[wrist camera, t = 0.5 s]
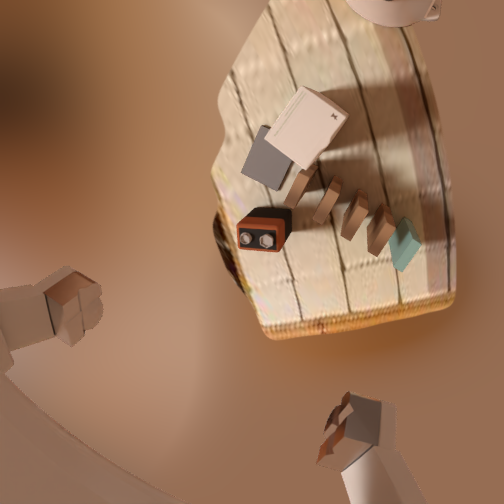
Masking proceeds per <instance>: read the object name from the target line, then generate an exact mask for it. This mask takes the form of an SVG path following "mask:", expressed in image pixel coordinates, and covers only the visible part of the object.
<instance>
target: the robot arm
mask: <svg viewBox="0 0 504 504" xmlns="http://www.w3.org/2000/svg"><path fill="white" fill-rule="evenodd" d="M346 1H347V3H348V4H349V6H350V7H351V8H352V9H353V10H354V11H355V12H356V13H358V14H359V15H360V16H362V17H363V18H365V19H367V20H369V21H371V22H373V23H376V24H379V25H383V26H388V27H403V26H408V25H411V24H414V23H416V22H419V21H436V20H438V19H439V16H440V11H441V3H442V0H346ZM432 7H434V8H435V10H433V9H432ZM101 294H102V291H101V285H99V284H98V283H96V282H95V281H93V280H91V279H90V278H88V277H86V276H85V275H83V274H81V273H80V272H78V271H76V270H75V269H73V268H71V267H70V266H63V267H62V268H60V269H59V270H57V271H56V272H54V273H52V274H51V275H49V276H48V277H46V278H45V279H43V280H42V281H40V282H39V283H37V284H36V285H34V286H32V285H24V286H18V287H11V288H4V289H0V504H190V503H188V502H186V501H184V500H181V499H179V498H177V497H175V496H173V495H171V494H169V493H167V492H165V491H163V490H161V489H159V488H157V487H155V486H153V485H151V484H150V483H148V482H146V481H144V480H142V479H140V478H139V477H137V476H135V475H133V474H131V473H130V472H128V471H126V470H125V469H123V468H122V467H120V466H118V465H117V464H115V463H114V462H112V461H110V460H109V459H107V458H106V457H104V456H103V455H101V454H100V453H98V452H97V451H95V450H94V449H92V448H91V447H89V446H88V445H87V444H85V443H84V442H83V441H81V440H80V439H78V438H77V437H76V436H74V435H73V434H72V433H71V432H69V431H68V430H66V429H65V428H64V427H63V426H62V425H60V424H59V423H58V422H57V421H55V420H54V419H53V418H52V417H50V416H49V415H48V414H47V413H45V411H43V410H42V409H41V408H40V407H39V406H38V405H37V404H35V403H34V402H33V401H32V400H31V399H30V398H29V397H28V396H27V395H25V393H23V392H22V391H21V390H20V389H19V388H18V387H17V386H16V385H15V384H14V383H13V382H12V381H11V380H10V379H9V378H8V377H7V376H6V375H5V373H6V372H7V371H8V370H9V369H10V368H11V367H12V366H13V365H14V360H13V358H12V356H11V354H10V351H13V350H16V349H20V348H22V347H26V346H29V345H32V344H35V343H38V342H41V341H44V340H47V339H50V338H53V337H55V336H56V337H57V338H59V339H60V340H62V341H63V342H64V343H66V344H68V345H69V346H70V347H73V346H74V345H75V344H76V343H77V342H78V341H80V340H81V339H82V338H83V337H84V334H85V330H89V329H93V328H94V327H95V326H96V325H97V324H98V323H99V321H100V319H101V317H102V314H103V304H102V302H101V300H100V298H99V297H100V296H101ZM323 434H324V436H325V438H326V440H325V442H324V443H323V444H322V445H321V446H320V450H319V454H318V458H317V462H316V464H317V465H320V466H323V467H327V468H330V469H333V470H337V471H341V472H342V473H341V474H342V477H343V480H344V483H345V486H346V489H347V492H348V496H349V499H350V502H351V504H428V503H427V501H426V499H425V497H424V496H423V494H422V492H421V490H420V488H419V486H418V484H417V482H416V481H415V479H414V477H413V475H412V473H411V471H410V470H409V468H408V466H407V464H406V462H405V460H404V458H403V457H402V455H401V453H400V452H399V451H396V450H395V446H396V405H395V404H393V403H389V402H386V401H382V400H379V399H375V398H371V397H368V396H365V395H361V394H358V393H354V392H351V391H348V392H346V393H345V395H344V396H343V397H342V400H341V405H338V406H336V407H335V408H334V409H333V411H332V412H331V414H330V416H329V418H328V420H327V422H326V425H325V429H324V433H323Z"/></svg>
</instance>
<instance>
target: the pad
mask: <svg viewBox="0 0 504 504" xmlns="http://www.w3.org/2000/svg"><path fill="white" fill-rule="evenodd" d="M269 130H270V129H269V128H267V127H264V126H261V127H260V129H259V131H258V134H257V136H256V138H255V141H254V143H253V145H252V147H251V150H250V152H249V154H248V157H247V159H246V161H245V164H244V166H243V169H242V171H241V173H242V174H244V175H246V176H248V177H250V178H252V179H254V180H256V181H258V182H260V183H262V184H264V185H266V186H268V187H269V188H271V189H273V190H275V191H278V189H279V187H280V185H281V183H282V181H283V179H284V176H285V174H286V172H287V170H288V168H289V166H290V164H291V162H292V160H291V159H290V158H289V157H287V156H286V155H285V154H283V153H282V152H281V151H280V150H278V149H277V148H276V147H274V146H273V145H272V144H270V143H269V142H268V141H266V140H265V139H264V138H265V136H266V135H267V133H268V132H269Z"/></svg>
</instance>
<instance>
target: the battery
mask: <svg viewBox="0 0 504 504" xmlns="http://www.w3.org/2000/svg"><path fill="white" fill-rule="evenodd" d="M291 231H292V215H291V210H290V209H275V208H254V209H253V210H252V211H251V212H250V213H249V214H248V215H246V216H245V217H244V218H243V219H242V220H241V221H240V222H239V223H238V224H237V240H238V248H239V249H244V250H256V251H267V252H279V251H280V250H281V248H282V247H283V245H284V243H285V242H286V240H287V238H288V237H289V235H290V233H291Z"/></svg>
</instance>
